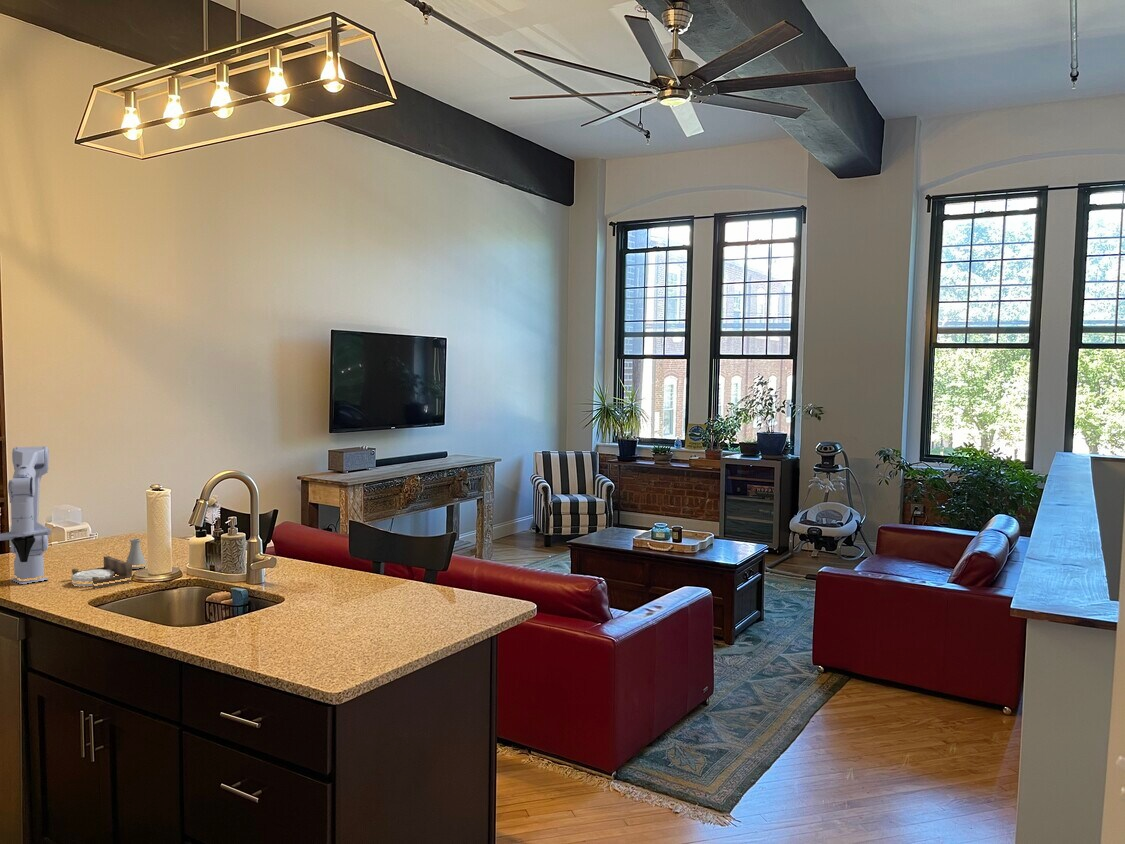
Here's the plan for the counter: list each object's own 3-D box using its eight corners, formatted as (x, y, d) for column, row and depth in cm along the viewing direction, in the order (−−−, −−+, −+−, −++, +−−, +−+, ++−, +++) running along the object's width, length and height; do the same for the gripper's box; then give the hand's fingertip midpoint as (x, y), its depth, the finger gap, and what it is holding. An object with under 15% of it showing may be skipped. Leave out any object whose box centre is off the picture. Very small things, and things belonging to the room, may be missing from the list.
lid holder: (71, 579, 267) (70, 561, 267) (108, 573, 276) (108, 556, 276) (93, 589, 256) (93, 570, 255) (132, 582, 264) (131, 564, 264)
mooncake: (74, 590, 256) (74, 578, 256) (69, 582, 265) (68, 571, 265) (118, 584, 263) (117, 573, 263) (111, 577, 273) (110, 566, 272)
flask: (151, 566, 288) (151, 537, 287) (139, 571, 281) (138, 541, 280) (132, 565, 288) (131, 537, 288) (119, 570, 281) (118, 541, 281)
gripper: (-1, 521, 243) (0, 567, 243) (54, 515, 254) (55, 559, 254) (-9, 519, 247) (-8, 564, 248) (45, 513, 258) (46, 556, 259)
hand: (23, 561), depth 251 cm, fingers closed
